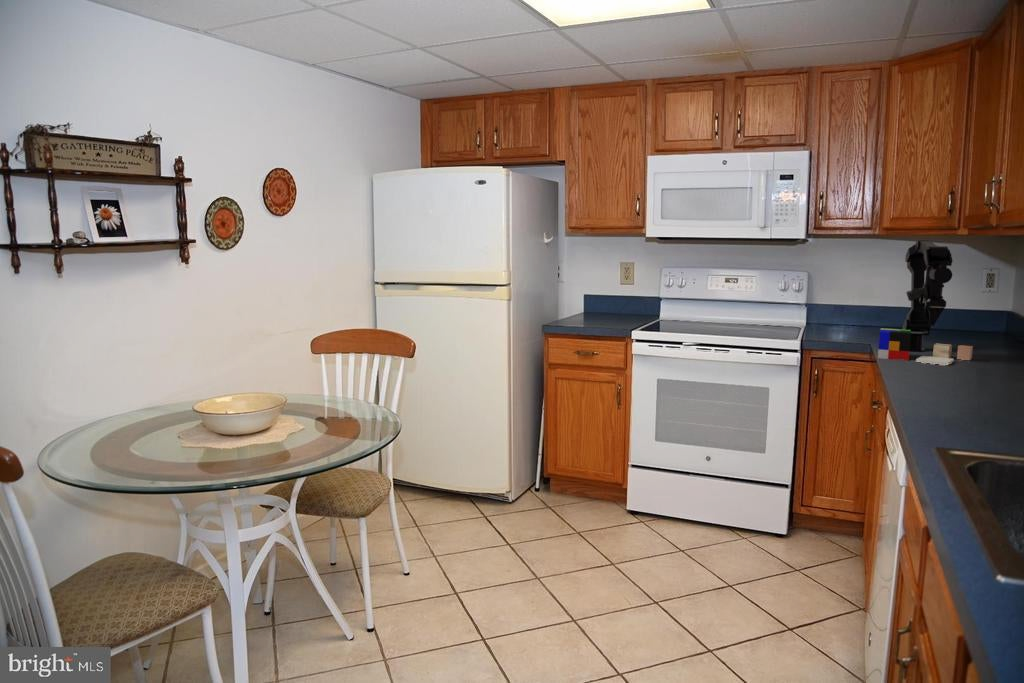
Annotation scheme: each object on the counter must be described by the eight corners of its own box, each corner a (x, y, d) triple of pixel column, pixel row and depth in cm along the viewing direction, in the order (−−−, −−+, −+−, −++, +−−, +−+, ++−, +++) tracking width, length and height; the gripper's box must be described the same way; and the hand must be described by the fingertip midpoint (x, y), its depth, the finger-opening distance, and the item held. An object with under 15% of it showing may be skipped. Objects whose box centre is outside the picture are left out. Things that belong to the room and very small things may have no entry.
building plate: (922, 358, 266) (922, 355, 266) (953, 362, 259) (953, 358, 259) (915, 362, 258) (916, 359, 258) (948, 365, 252) (948, 362, 252)
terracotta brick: (958, 358, 267) (960, 345, 266) (971, 359, 264) (972, 346, 264) (956, 360, 264) (958, 346, 263) (969, 361, 261) (970, 347, 261)
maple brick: (935, 356, 271) (936, 343, 271) (950, 358, 268) (952, 344, 267) (932, 358, 268) (933, 344, 267) (948, 359, 264) (949, 346, 264)
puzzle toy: (877, 358, 267) (879, 331, 266) (878, 354, 276) (880, 328, 275) (908, 360, 263) (910, 333, 261) (908, 356, 271) (910, 329, 270)
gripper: (905, 278, 274) (902, 319, 276) (912, 282, 257) (908, 326, 259) (939, 279, 270) (935, 321, 272) (948, 283, 253) (944, 327, 255)
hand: (930, 323), depth 265 cm, fingers open, 9 cm apart
